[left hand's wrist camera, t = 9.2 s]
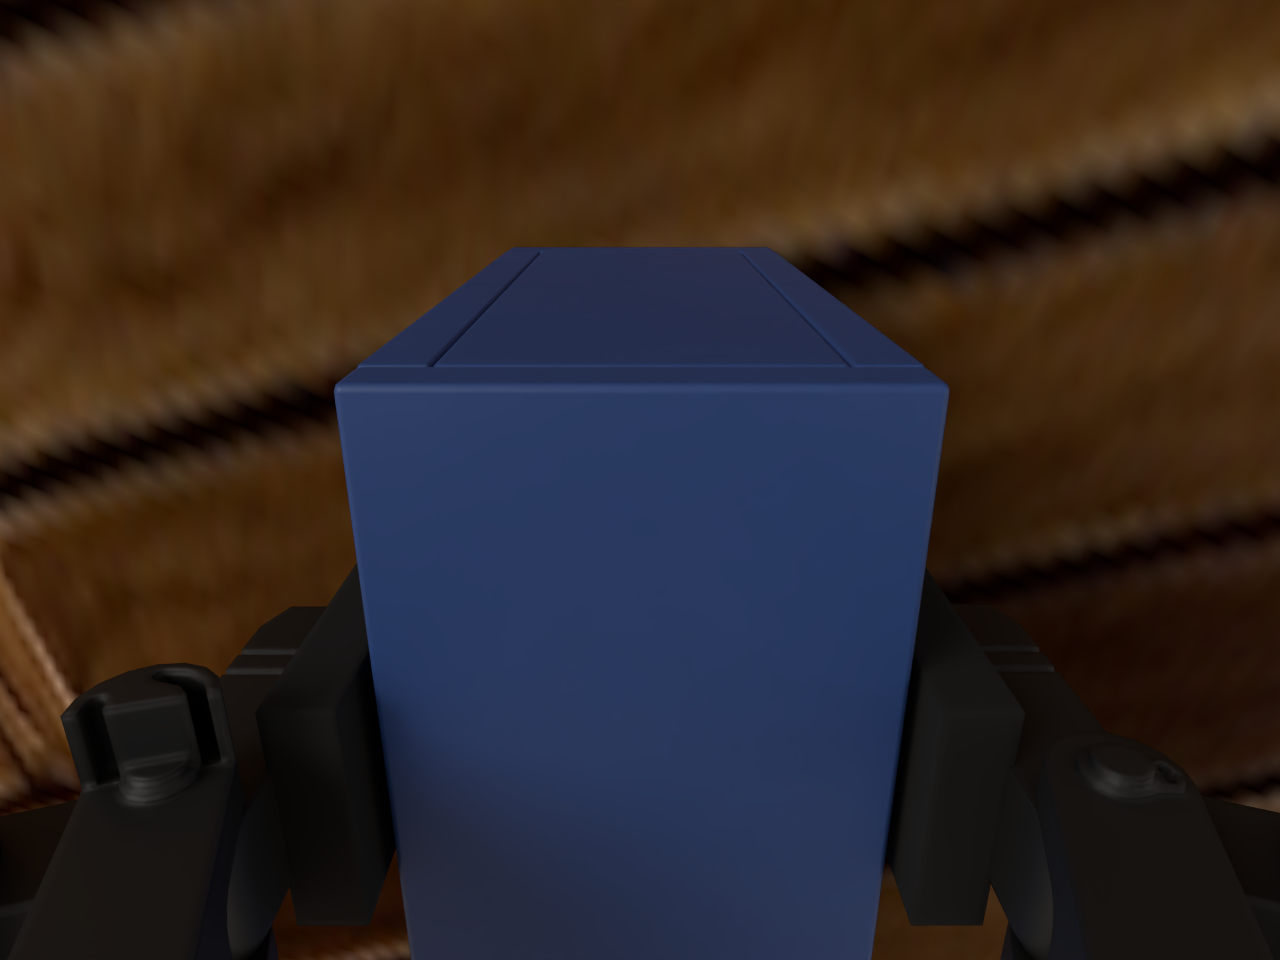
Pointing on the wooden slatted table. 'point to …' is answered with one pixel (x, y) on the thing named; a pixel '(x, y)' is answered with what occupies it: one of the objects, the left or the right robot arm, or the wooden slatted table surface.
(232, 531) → the wooden slatted table surface
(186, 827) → the left robot arm
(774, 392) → the cabinet
